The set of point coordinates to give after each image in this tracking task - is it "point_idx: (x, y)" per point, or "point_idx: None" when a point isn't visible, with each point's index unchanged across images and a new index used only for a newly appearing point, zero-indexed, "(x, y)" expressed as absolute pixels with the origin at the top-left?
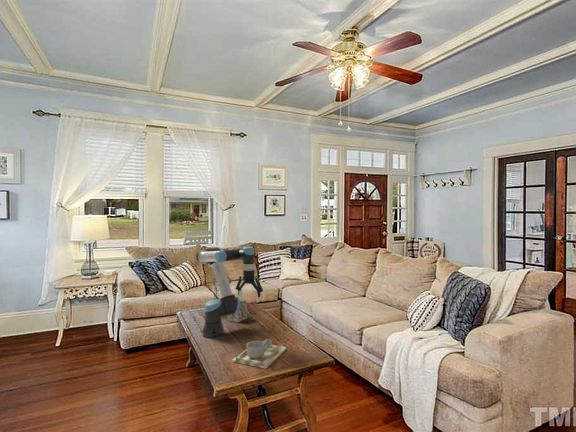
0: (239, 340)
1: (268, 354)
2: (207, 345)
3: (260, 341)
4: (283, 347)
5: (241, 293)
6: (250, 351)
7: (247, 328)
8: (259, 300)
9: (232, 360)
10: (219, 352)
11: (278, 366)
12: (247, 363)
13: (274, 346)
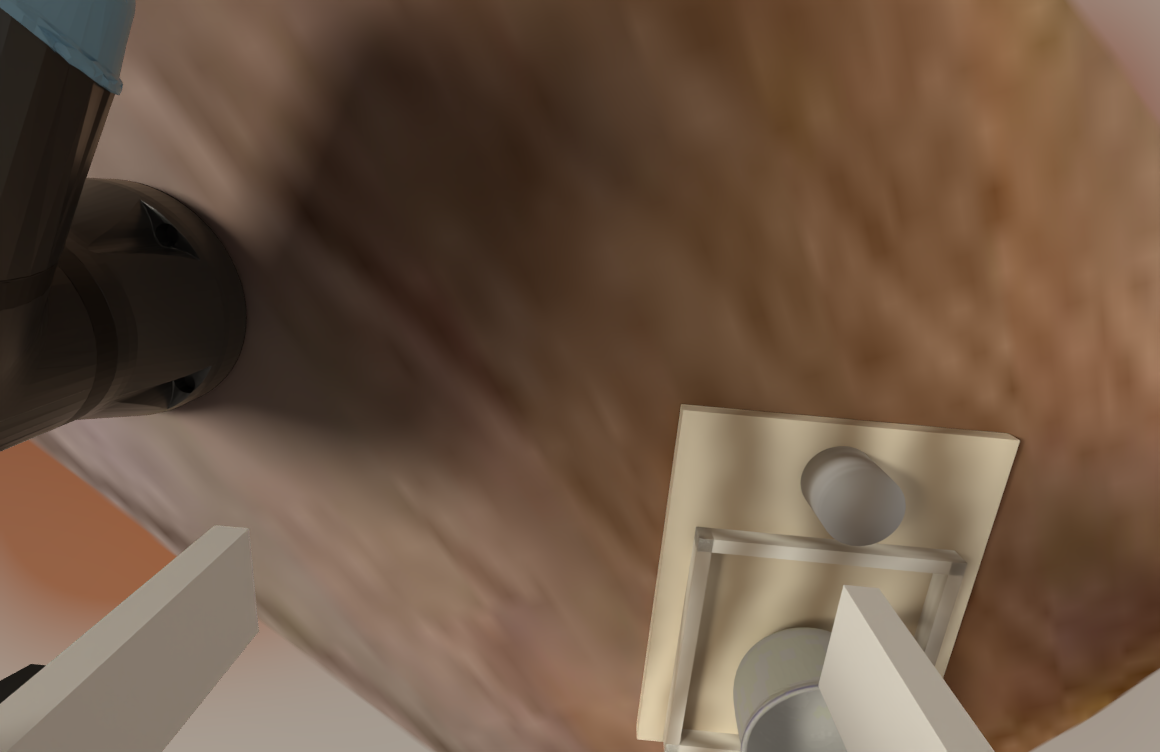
0: (489, 376)
1: None
2: (284, 548)
3: None
4: (992, 453)
5: (84, 730)
6: None
7: (387, 6)
8: (893, 609)
9: (638, 735)
10: (461, 629)
11: (990, 708)
12: None
13: (898, 455)
